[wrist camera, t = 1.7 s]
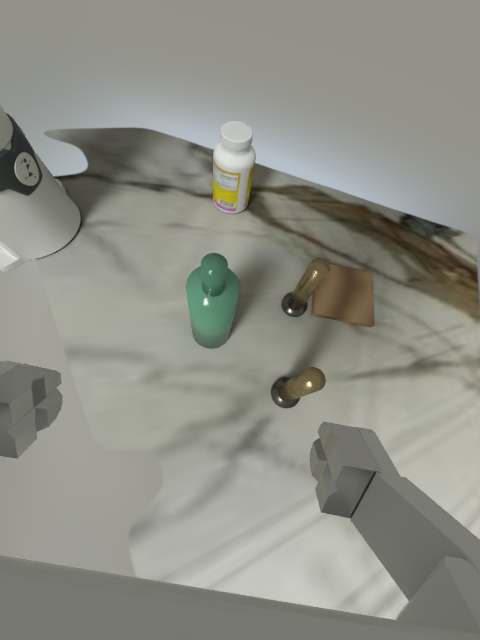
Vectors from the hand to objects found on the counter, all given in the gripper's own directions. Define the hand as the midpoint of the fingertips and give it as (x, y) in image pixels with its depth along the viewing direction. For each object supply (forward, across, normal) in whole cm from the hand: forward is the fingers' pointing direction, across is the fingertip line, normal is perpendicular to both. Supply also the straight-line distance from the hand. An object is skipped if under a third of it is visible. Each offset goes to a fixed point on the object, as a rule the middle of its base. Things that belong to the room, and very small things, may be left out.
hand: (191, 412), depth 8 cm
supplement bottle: (+48, +4, -8) cm, 49 cm away
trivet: (+37, -18, +3) cm, 42 cm away
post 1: (+34, -10, +6) cm, 36 cm away
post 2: (+24, -10, +16) cm, 31 cm away
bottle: (+29, +2, +11) cm, 31 cm away
